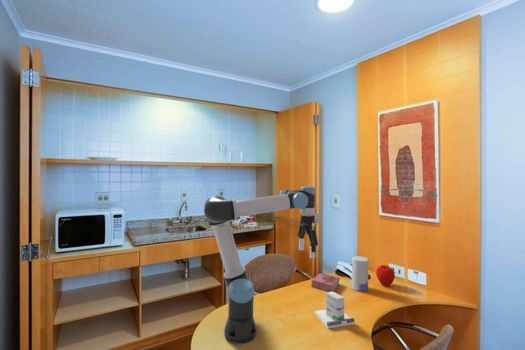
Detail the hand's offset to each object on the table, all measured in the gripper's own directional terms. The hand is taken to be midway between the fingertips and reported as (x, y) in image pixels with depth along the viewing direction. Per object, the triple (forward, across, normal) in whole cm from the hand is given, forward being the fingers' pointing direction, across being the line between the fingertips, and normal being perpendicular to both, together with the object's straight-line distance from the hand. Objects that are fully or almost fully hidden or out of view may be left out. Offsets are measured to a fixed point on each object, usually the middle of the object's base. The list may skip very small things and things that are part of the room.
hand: (306, 253), depth 143 cm
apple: (+32, +17, -67) cm, 76 cm away
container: (+32, +17, -47) cm, 59 cm away
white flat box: (+32, -10, -12) cm, 35 cm away
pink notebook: (+32, +26, -27) cm, 49 cm away
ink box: (+31, -11, -11) cm, 35 cm away
